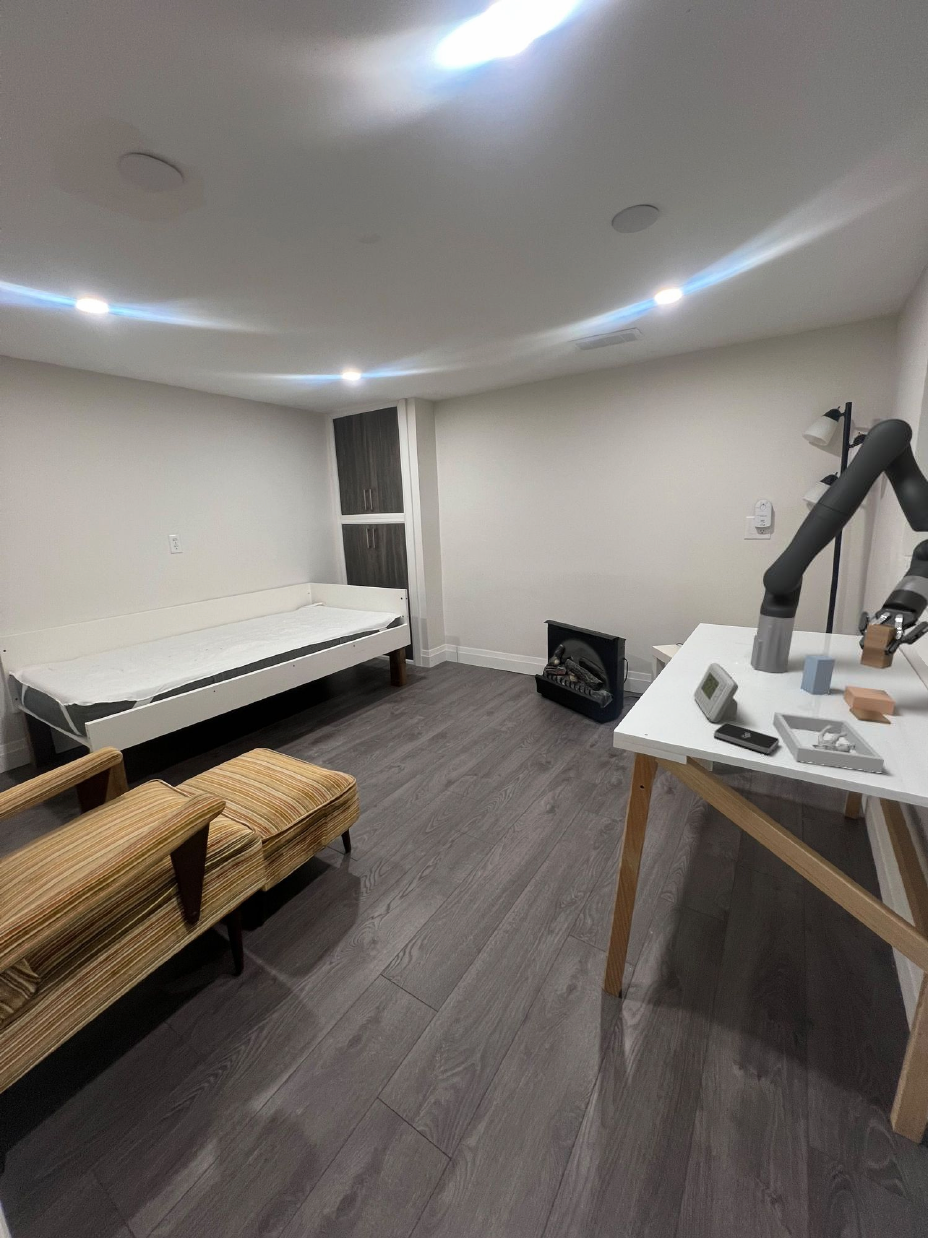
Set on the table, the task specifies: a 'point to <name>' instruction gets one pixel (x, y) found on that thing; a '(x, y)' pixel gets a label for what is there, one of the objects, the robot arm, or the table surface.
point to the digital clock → (717, 694)
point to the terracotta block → (869, 700)
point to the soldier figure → (832, 741)
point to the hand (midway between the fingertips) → (874, 650)
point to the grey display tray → (862, 760)
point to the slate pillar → (817, 674)
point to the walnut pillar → (877, 646)
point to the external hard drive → (746, 738)
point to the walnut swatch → (869, 716)
